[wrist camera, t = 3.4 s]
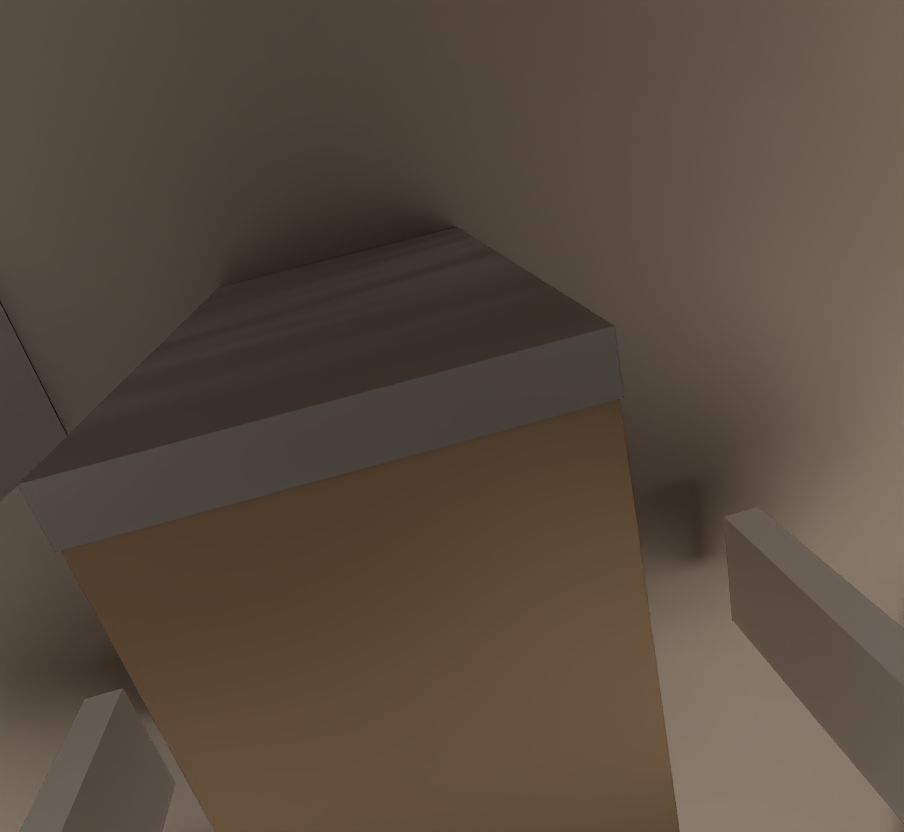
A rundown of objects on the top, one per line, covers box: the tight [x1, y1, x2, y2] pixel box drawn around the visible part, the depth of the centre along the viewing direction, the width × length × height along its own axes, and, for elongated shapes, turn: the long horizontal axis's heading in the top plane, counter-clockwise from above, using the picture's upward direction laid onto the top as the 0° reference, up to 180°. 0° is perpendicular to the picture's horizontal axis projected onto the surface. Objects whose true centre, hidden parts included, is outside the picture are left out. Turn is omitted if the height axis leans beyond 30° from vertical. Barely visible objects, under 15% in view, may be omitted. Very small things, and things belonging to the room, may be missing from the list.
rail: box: [17, 227, 680, 832], centre depth 12 cm, size 16×4×8 cm, turn 13°
